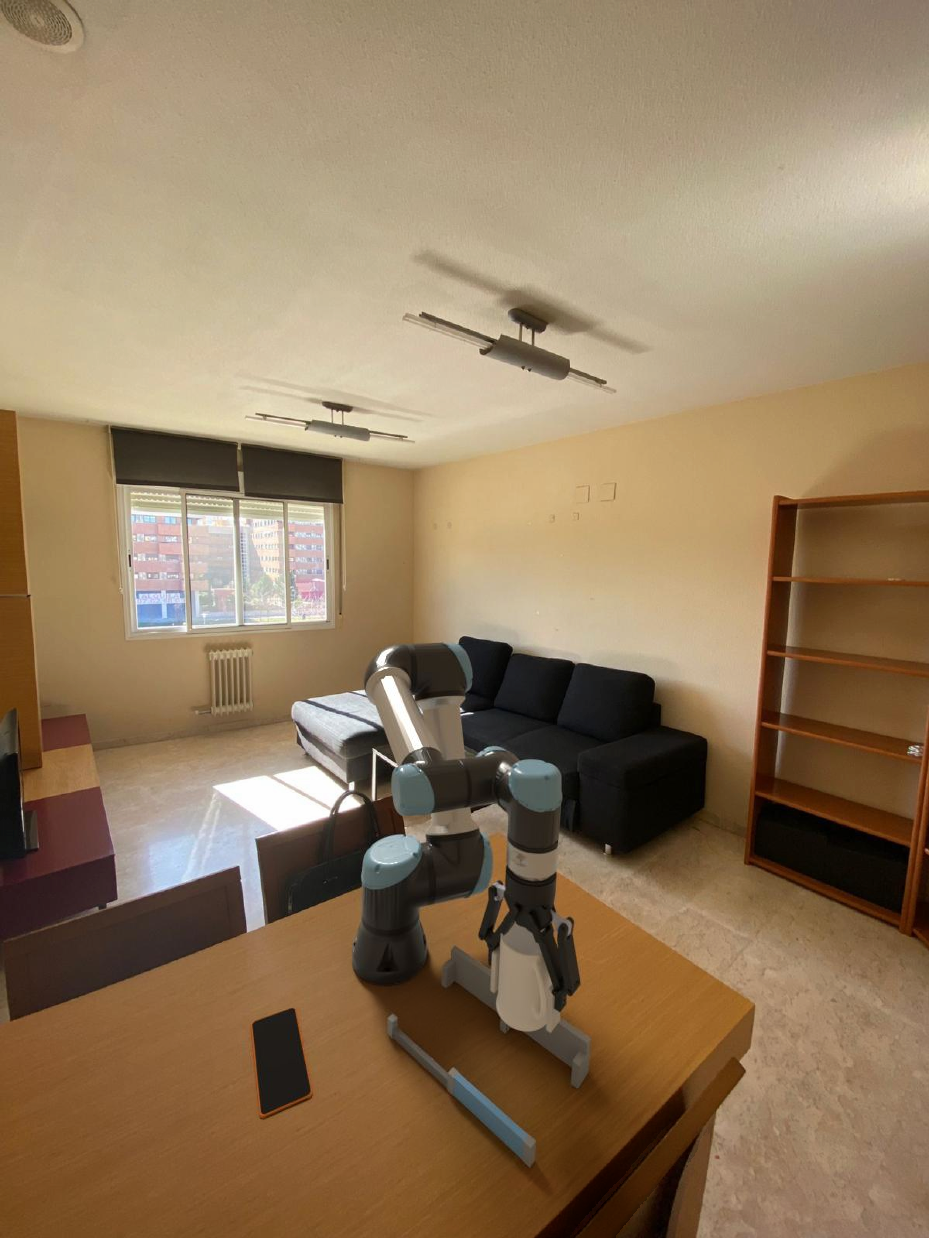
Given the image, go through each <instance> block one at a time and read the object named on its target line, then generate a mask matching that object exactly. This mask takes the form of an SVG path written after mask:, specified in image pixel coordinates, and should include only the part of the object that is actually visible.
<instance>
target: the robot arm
mask: <svg viewBox="0 0 929 1238" xmlns="http://www.w3.org/2000/svg"><path fill="white" fill-rule="evenodd" d="M472 679H473V668H472V664H471V660H470V658H469V655H468V653H467V651H466V650H465V649H464V648H463V646H462V645H460V644H458V643H451V642H449V643H448V642H431V643H430V642H428V643H426V642H425V643H397V644H394V645H393V644H392V645H390V646H388V647H385V648H383V649H381V650H380V651H379V652H378V653H377V654H376V655H374V657H372V659H371V660H370V661H369V663H368V664H367V666H366V669H365V671H364V676H363V688H364V692H365V695H366V698H367V700H368V701H369V702H370V704H372V705H374V706H375V708H376V710H377V714H378V717H379V719H380V722H381V724H382V726H383V731H384V733H385V735H386V738H387V741H388V743H389V746H390V749H391V752H392V753H393V754H392V755H393V757H394V760H395V762H396V765H397V766H396V767H395V768H394V769H393V771H392V774H391V780H390V781H391V784H390V785H391V788H390V789H391V795H392V800H393V805H394V809H395V810H396V812H397V813H398V814H399V815H400V816H402V817H409V816H411V817H412V816H428V815H430V816H431V822H430V825H429V826H428V828H427V829H426V830H425V842H420V840H419V839H418V838H416V837H415V836H413V835H408V834H407V835H406V836H405V834H403V833H402V834H400V833H399V834H391V835H389V836H385V837H383V838H381V839H379V840H377V841H376V842H374V843H373V844H372V845H371V846H370V848H368V849H367V850H366V852H365V854H364V856H363V860H362V868H361V870H362V871H361V875H360V878H361V879H360V880H361V921H360V923H359V927H358V929H357V933H356V936H355V938H354V940H353V944H352V948H351V963H352V968H353V970H354V971H355V973H356V974H357V975H358V977H360V978H361V979H362V980H364V981H366V982H368V983H370V984H374V985H378V986H394V985H399V984H402V983H405V982H407V981H409V980H411V979H412V978H414V977H415V976H416V975H418V974H419V973H420V971H421V970H422V968H423V967H424V966H425V964H426V961H427V957H428V941H427V936H426V933H425V931H424V927H423V925H422V921H421V918H420V913H421V912H420V911H421V908H423V907H427V906H432V905H438V904H441V903H446V902H451V901H455V900H460V899H469V898H471V897H472V896H476V895H479V894H482V893H484V892H485V891H487V897H488V901H487V904H486V907H485V910H484V913H483V917H482V921H481V924H480V928H479V931H478V935H477V937H478V939H479V940H480V941H485V943H486V947H487V948H488V953H487V955H488V956H487V964H488V966H489V967H491V968H490V970H491V986H490V991H492V992H493V993H495V992H496V991H497V990H498V984H499V961H500V939H501V933H502V934H503V936H504V935H505V934H507V933H508V932H509V930H510V929H511V927H512V926H513V925H514V923H515V922H516V924H517V925H519V926H521V927H525V928H526V929H527V930H528V931H529V932H531V933H533V936H534V939H535V942H536V943H538V944H539V947H540V950H541V953H542V955H543V958H544V961H545V964H546V967H547V970H548V973H549V976H550V979H551V986H550V987H549V989H548V1005H547V1022H546V1030H547V1031H548V1032H550V1033H551V1032H552V1030H553V1029H554V1028H555V1026H556V1025H557V1024H558V1022H559V1021H560V1017H561V1012H562V1011H563V1010H564V1008H565V1007H566V1006H567V998H568V997H572V996H573V995H574V994H575V993H576V991H577V990H578V989H579V987H580V986H581V985H582V981H581V977H580V971H579V965H578V964H579V963H578V959H577V952H576V947H575V941H574V928H575V927H574V926H575V920H574V918H573V917H571V916H567V917H566V918H565V917H563V916H562V915H560V914H558V913H557V909H556V907H555V900H556V899H555V898H556V891H557V879H558V878H557V870H558V860H559V859H558V858H559V856H558V855H559V838H560V827H561V811H562V802H563V792H562V773H561V772H560V769H558V767H557V766H556V765H554V764H552V763H549V762H546V761H544V760H540V759H532V758H531V759H523V760H520V759H519V758H518V757H517V756H516V755H515V754H514V753H512V752H511V751H508V750H506V749H505V748H503V747H502V746H497V745H493V746H488V747H486V748H484V749H483V750H481V751H480V752H478V753H477V754H476V756H473V757H466V755H465V753H466V752H465V744H464V735H463V726H462V717H461V708H460V707H461V706H462V704H463V703H464V702H465V700H466V693H467V692H468V691H470V689H471V688H472V685H473V680H472ZM421 711H422V712H421ZM494 804H496V805H498V807H500V808H501V810H503V811H504V812H505V813H506V814H507V836H506V837H507V839H506V840H507V841H506V843H507V844H506V866H505V879H504V883H503V881H502V880H500V879H498V880H497V881H495V882H494V883H493V884H491V885H490V883H491V881H492V879H493V871H494V853H493V847H492V846H491V840H490V838H489V836H488V835H487V834H486V833H484V832H482V831H481V830H480V824H478V823H477V822H476V820H474V819H473V818H472V812H471V808H473V807H474V808H475V807H480V806H481V807H482V806H487V805H494ZM504 900H505V903H506V905H507V908H508V910H509V911H508V912H507V913H506V915H505V916H504V917H503V920H502V921H501V923H500V924H499V925H498V927H497V928H496V930H495V926H496V923H497V919H498V916H499V913H500V909H501V907H502V904H503V901H504ZM553 925H554V926H553ZM543 929H544V930H543ZM494 930H495V931H494ZM541 930H543V931H542V932H541ZM554 934H555V935H556V938H555V936H554ZM567 996H568V997H567Z"/></svg>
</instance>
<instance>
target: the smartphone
mask: <svg viewBox="0 0 929 1238" xmlns="http://www.w3.org/2000/svg"><path fill="white" fill-rule="evenodd" d="M250 1033H251V1042H252V1053H253V1062H254V1063H253V1065H254V1073H255V1085H256V1093H257V1104H258V1114H259V1115H258V1116H259V1118H260V1119H265V1118H268V1117H270V1116H272V1115H275V1114H277V1113H280V1112H282V1111H284V1110H285V1109H287V1108H290V1107H293V1106H296V1105H298V1104H300V1103H302V1102H304V1101H307V1100H309V1099H310V1098H312V1096H313V1093H314V1092H313V1087H312V1082H311V1076H310V1073H309V1068H308V1062H307V1057H306V1052H305V1048H304V1038H303V1035H302V1030H301V1025H300V1019H299V1016H298V1012H297V1008H296V1007H293V1006H291V1007H289V1008H286V1009H283V1010H281V1011H278V1012H275V1013H273V1014H270V1015H267V1016H264V1017H261V1018H259V1019H255V1020H254V1021H252V1022H251V1023H250Z"/></svg>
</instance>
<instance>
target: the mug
mask: <svg viewBox="0 0 929 1238" xmlns="http://www.w3.org/2000/svg"><path fill="white" fill-rule="evenodd" d="M543 930H544V929H543ZM543 930H541V932H542V931H543ZM551 985H552V982H551V979H550V976H549V973H548V970H547V967H546V964H545V961H544V958H543V955H542V953H541V950H540V947H539V944H538V943H536V942H535V939H534V936H533V933H531V932H529V931H528V930H527V929H526V928H525V927H521V926H519V925H517V924H516V922H515V923H514V925H513V926H512V927H511V929H510V930H509V932H508V933H507V934H505V935H504V936H503V934H502V933H501V939H500V961H499V984H498V995H497V999H496V1008H497V1011H498V1013H497V1014H498V1016H499V1017H501V1019H502V1020H503V1021H504V1022H505V1023H506V1024H507V1025H509V1026H510V1027H511V1029H514V1030H517V1031H521V1032H523V1031H526V1032H529V1031H535V1030H538V1029H540V1028H542V1027H543V1026H545V1025H546V1022H547V1005H548V989H549V987H550V986H551Z"/></svg>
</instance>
